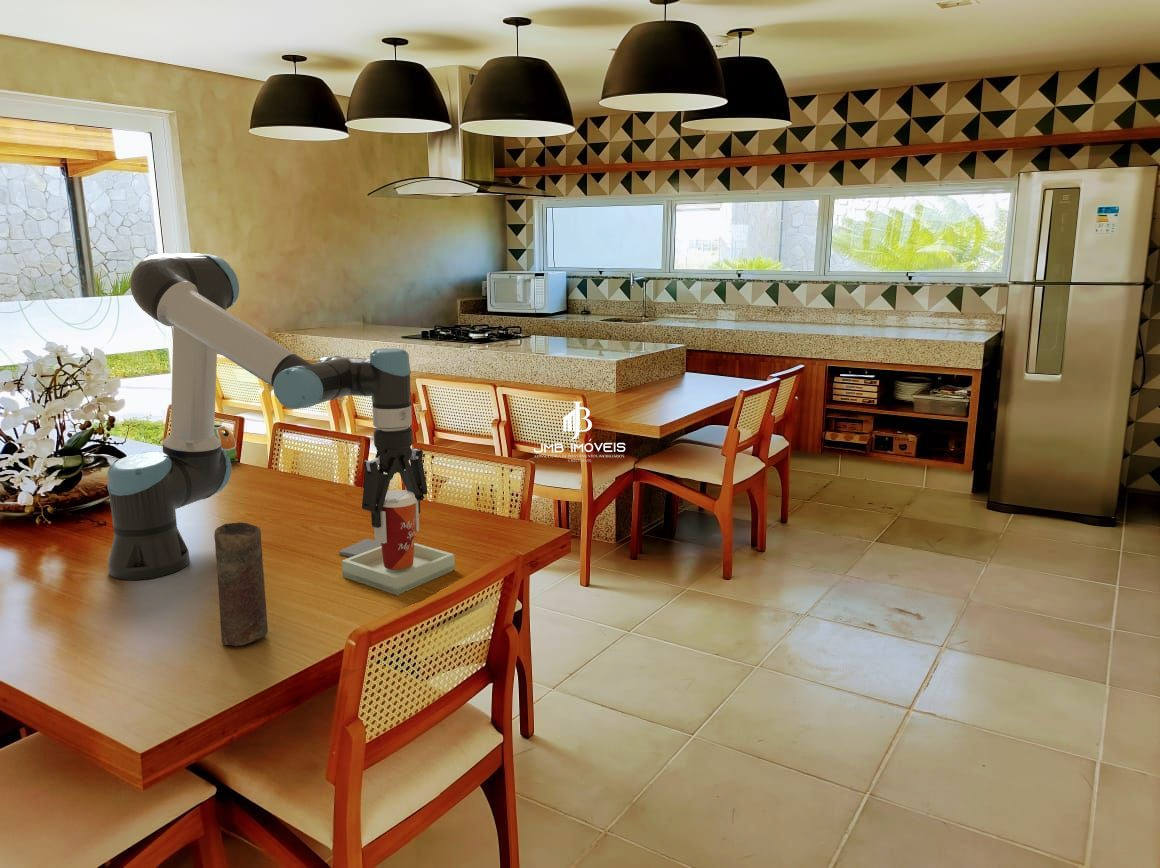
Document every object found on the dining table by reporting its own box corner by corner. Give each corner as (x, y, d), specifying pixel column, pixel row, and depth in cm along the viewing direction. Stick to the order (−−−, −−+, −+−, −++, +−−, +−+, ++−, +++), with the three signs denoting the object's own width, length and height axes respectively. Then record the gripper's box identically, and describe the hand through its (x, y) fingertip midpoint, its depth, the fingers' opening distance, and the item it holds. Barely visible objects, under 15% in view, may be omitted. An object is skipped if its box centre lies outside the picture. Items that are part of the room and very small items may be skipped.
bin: (397, 595, 160) (396, 578, 159) (342, 576, 169) (341, 560, 168) (454, 570, 173) (454, 554, 172) (401, 554, 182) (400, 538, 181)
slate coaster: (372, 561, 177) (372, 557, 177) (339, 554, 181) (339, 551, 181) (398, 548, 185) (398, 544, 185) (366, 542, 189) (365, 538, 189)
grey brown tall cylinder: (255, 625, 147) (246, 518, 142) (278, 638, 142) (269, 527, 138) (213, 641, 141) (202, 529, 136) (235, 654, 136) (225, 538, 132)
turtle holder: (196, 456, 267) (193, 420, 264) (246, 459, 263) (243, 423, 260) (169, 465, 255) (165, 428, 253) (221, 469, 251) (217, 431, 249)
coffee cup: (414, 572, 166) (411, 500, 163) (373, 571, 166) (370, 500, 163) (422, 557, 174) (420, 489, 171) (383, 556, 175) (381, 488, 171)
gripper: (364, 438, 154) (369, 554, 159) (443, 420, 170) (446, 525, 175) (337, 433, 158) (344, 546, 163) (418, 416, 175) (421, 519, 180)
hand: (397, 535), depth 169 cm, fingers closed on coffee cup, 8 cm apart
